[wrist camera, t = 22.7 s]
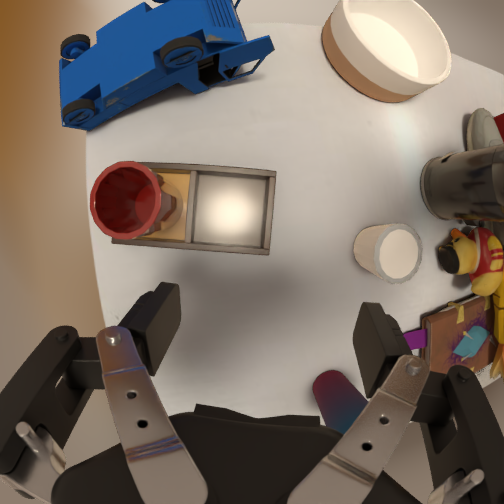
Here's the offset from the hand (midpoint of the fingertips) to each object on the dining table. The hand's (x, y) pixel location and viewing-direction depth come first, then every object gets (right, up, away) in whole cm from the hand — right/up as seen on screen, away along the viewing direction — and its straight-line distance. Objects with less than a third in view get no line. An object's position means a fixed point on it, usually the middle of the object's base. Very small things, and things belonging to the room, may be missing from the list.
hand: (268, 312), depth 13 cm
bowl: (+18, +32, +21) cm, 42 cm away
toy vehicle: (-13, +25, +8) cm, 29 cm away
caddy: (-7, +8, +22) cm, 24 cm away
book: (+34, -13, +28) cm, 45 cm away
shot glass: (+15, +3, +25) cm, 29 cm away
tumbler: (-12, +8, +21) cm, 25 cm away
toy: (+36, +1, +21) cm, 42 cm away
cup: (+10, -17, +26) cm, 33 cm away
